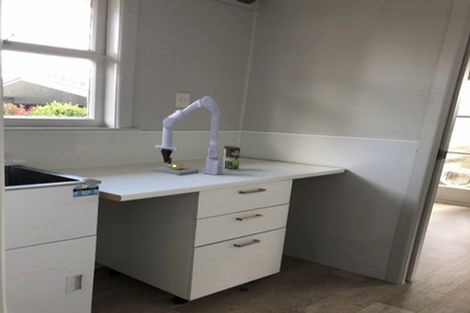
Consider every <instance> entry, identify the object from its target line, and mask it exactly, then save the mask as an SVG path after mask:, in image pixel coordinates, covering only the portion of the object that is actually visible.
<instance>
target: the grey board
mask: <svg viewBox="0 0 470 313" xmlns="http://www.w3.org/2000/svg"><path fill="white" fill-rule="evenodd" d="M152 171H155V172H158V173H159V172H160V173H165V174H170V175H176V176H185V175H192V174H198V173H199V169H194V168H188V167H185V166H183V169H182V170H176V169H172V166H168V165H166V166H157V167H153V168H152Z"/></svg>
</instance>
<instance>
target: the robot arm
mask: <svg viewBox="0 0 470 313" xmlns="http://www.w3.org/2000/svg"><path fill="white" fill-rule="evenodd" d="M203 107H204V108H205V109H206V110H208V111H209V112H210V113H211V124H210V126H211V127H210V137H209V147H208V149H207V156H206V159H205V171H202V173H203V174H208V175H215V176H217V175H223V174H224V172H223V170H224V169H223V159H221V158H220V157H219V148H218V142H219V131H220V130H219V129H220V117H221V110H220V108H219V105H218V104H217V103H216V101H215V100H214V99H213V98H212V97H211V96H204V97H202V98H200V99H197V100H195V101H194V102H193V103H191V104H190V105H188V106H187V107H186V108H184V109H176V110H175V112H174V113H172V114H171V115H168V116H167V117H165V118H164V119H163V120H162V125H163V127H162V134H161V135H162V136H161V138H162V139H161V144H155V149H158V150H160V153H161V155H162V159H163V163H168V160H169V157H171V155H172V154H173V152H179V147H175V146H173V138H174V137H173V134H174V131H173V129H174V128H173V127H174V125H177V124H178V123H180V122H181V121H183V120H185V118H186V115H187V114H189V113H191V112H193V111H194V110H196V109H197V108H203Z"/></svg>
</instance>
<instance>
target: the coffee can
mask: <svg viewBox="0 0 470 313" xmlns="http://www.w3.org/2000/svg"><path fill="white" fill-rule="evenodd" d="M240 155H241V147H239V146H232V145H231V146H230V145H225V146H223V158H222V161H223V170H224V171H231V172H232V171H233V172H234V171H239V167H240Z"/></svg>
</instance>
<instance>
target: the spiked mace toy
mask: <svg viewBox="0 0 470 313" xmlns="http://www.w3.org/2000/svg"><path fill="white" fill-rule="evenodd" d="M167 166H172V169H176V170H182V169H183V168H184V163H182V162H180V163H179V162H173V158H172V157H171V156H170V157H169V160H168V163H167Z"/></svg>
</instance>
